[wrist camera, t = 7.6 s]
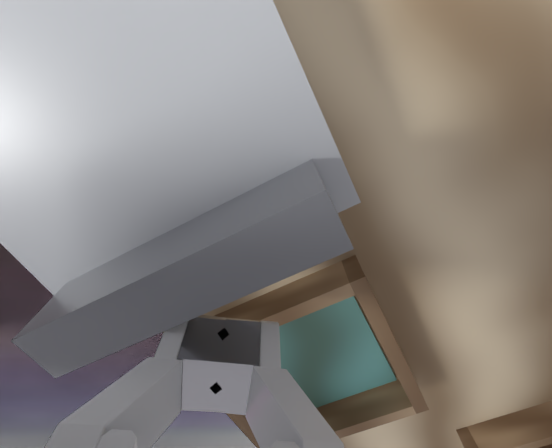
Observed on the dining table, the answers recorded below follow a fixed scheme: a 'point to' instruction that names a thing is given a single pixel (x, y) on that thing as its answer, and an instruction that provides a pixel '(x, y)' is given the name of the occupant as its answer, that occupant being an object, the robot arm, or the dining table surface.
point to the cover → (157, 165)
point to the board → (427, 225)
